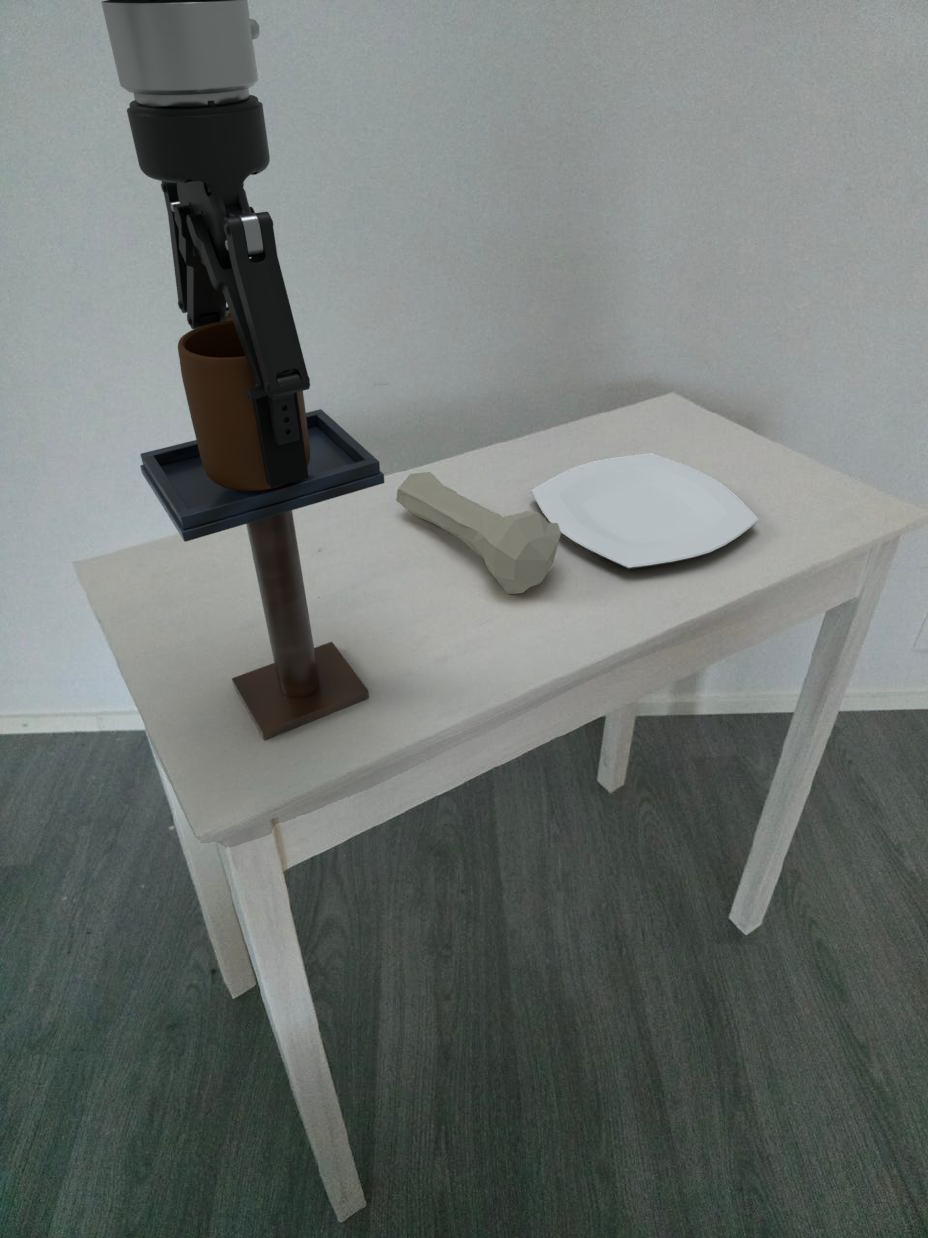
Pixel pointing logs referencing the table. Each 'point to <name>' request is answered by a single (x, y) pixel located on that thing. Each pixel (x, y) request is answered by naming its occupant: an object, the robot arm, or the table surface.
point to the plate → (643, 510)
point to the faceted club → (487, 531)
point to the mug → (225, 406)
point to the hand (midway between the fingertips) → (256, 445)
